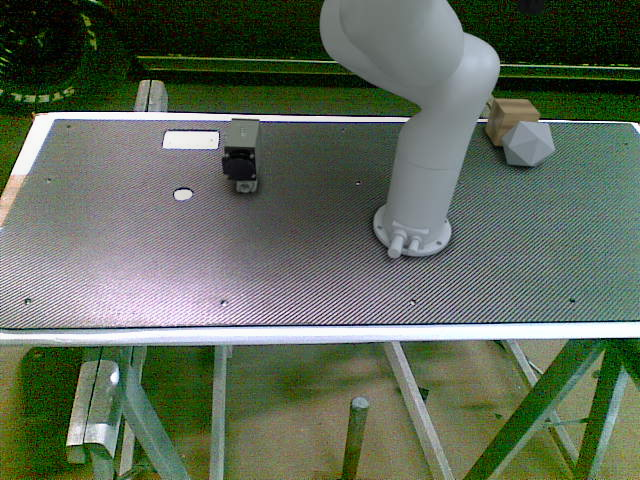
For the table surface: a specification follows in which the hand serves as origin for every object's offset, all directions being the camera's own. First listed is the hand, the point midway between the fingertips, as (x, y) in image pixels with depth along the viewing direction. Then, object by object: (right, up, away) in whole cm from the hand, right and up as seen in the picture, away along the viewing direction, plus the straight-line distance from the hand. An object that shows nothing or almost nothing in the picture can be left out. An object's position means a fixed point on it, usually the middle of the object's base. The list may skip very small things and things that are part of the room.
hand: (528, 11), depth 69 cm
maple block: (+8, -12, +29) cm, 32 cm away
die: (+9, -18, +24) cm, 31 cm away
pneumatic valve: (-44, -24, +15) cm, 52 cm away
